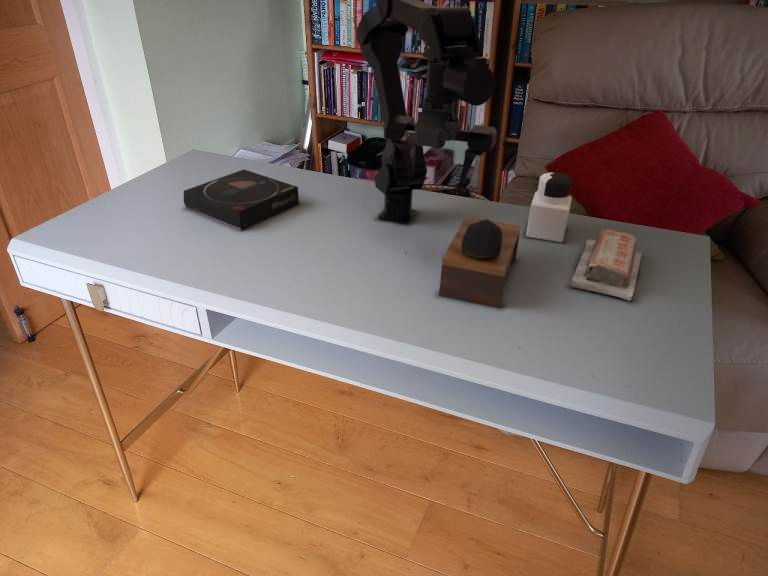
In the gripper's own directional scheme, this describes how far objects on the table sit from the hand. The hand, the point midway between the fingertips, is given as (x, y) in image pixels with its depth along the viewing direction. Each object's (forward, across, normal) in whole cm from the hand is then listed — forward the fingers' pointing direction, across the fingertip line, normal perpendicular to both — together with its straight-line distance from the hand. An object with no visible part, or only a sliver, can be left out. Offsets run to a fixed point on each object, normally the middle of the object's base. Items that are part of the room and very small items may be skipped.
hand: (436, 180), depth 106 cm
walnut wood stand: (+13, +11, -8) cm, 19 cm away
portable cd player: (+13, -42, +2) cm, 44 cm away
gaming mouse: (+6, +11, -8) cm, 15 cm away
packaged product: (+13, +32, +2) cm, 35 cm away
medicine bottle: (+13, +20, +14) cm, 28 cm away
